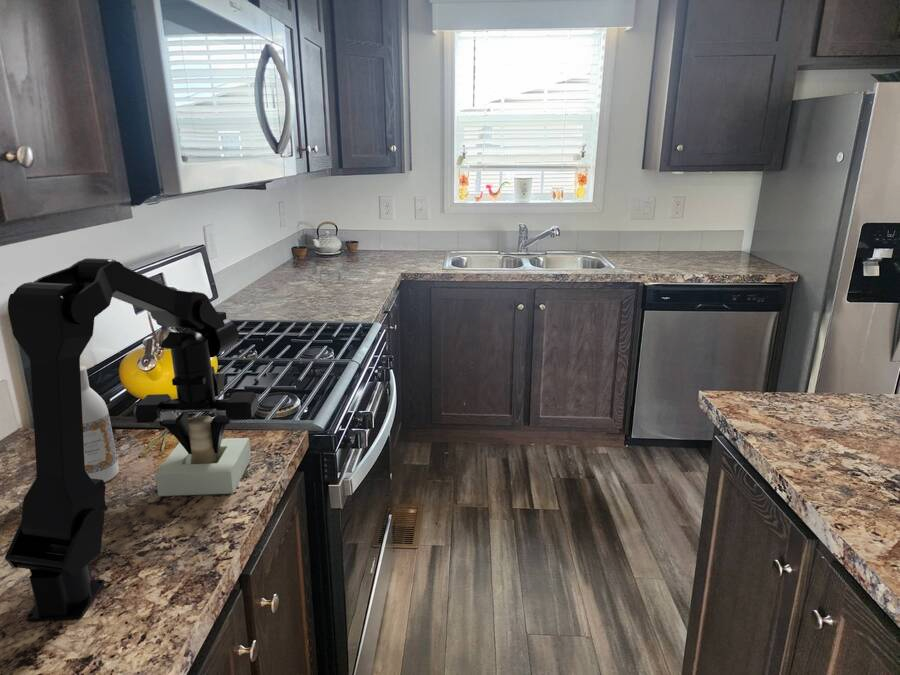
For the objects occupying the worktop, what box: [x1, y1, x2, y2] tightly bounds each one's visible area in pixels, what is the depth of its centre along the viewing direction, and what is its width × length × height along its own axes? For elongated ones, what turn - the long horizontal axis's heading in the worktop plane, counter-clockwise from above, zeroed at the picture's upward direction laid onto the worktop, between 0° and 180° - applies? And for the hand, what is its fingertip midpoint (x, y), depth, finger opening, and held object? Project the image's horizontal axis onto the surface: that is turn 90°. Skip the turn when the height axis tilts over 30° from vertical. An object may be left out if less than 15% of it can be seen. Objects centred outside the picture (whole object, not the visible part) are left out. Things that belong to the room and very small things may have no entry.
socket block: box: [154, 437, 252, 497], centre depth 105 cm, size 12×12×4 cm
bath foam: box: [80, 365, 120, 483], centre depth 102 cm, size 7×7×20 cm
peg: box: [187, 415, 218, 464], centre depth 103 cm, size 4×4×9 cm
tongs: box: [139, 427, 170, 458], centre depth 117 cm, size 4×13×2 cm, turn 13°
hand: (204, 452), depth 104 cm, fingers closed on peg, 4 cm apart
